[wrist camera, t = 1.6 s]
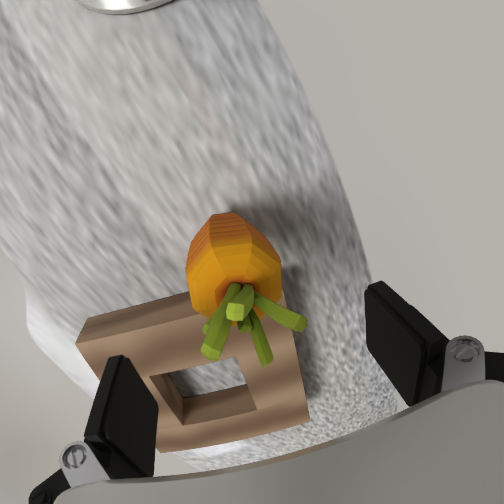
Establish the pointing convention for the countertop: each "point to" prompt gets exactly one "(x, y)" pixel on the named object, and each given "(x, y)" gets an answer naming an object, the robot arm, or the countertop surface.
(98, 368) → the socket block
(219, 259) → the carrot
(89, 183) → the countertop surface
